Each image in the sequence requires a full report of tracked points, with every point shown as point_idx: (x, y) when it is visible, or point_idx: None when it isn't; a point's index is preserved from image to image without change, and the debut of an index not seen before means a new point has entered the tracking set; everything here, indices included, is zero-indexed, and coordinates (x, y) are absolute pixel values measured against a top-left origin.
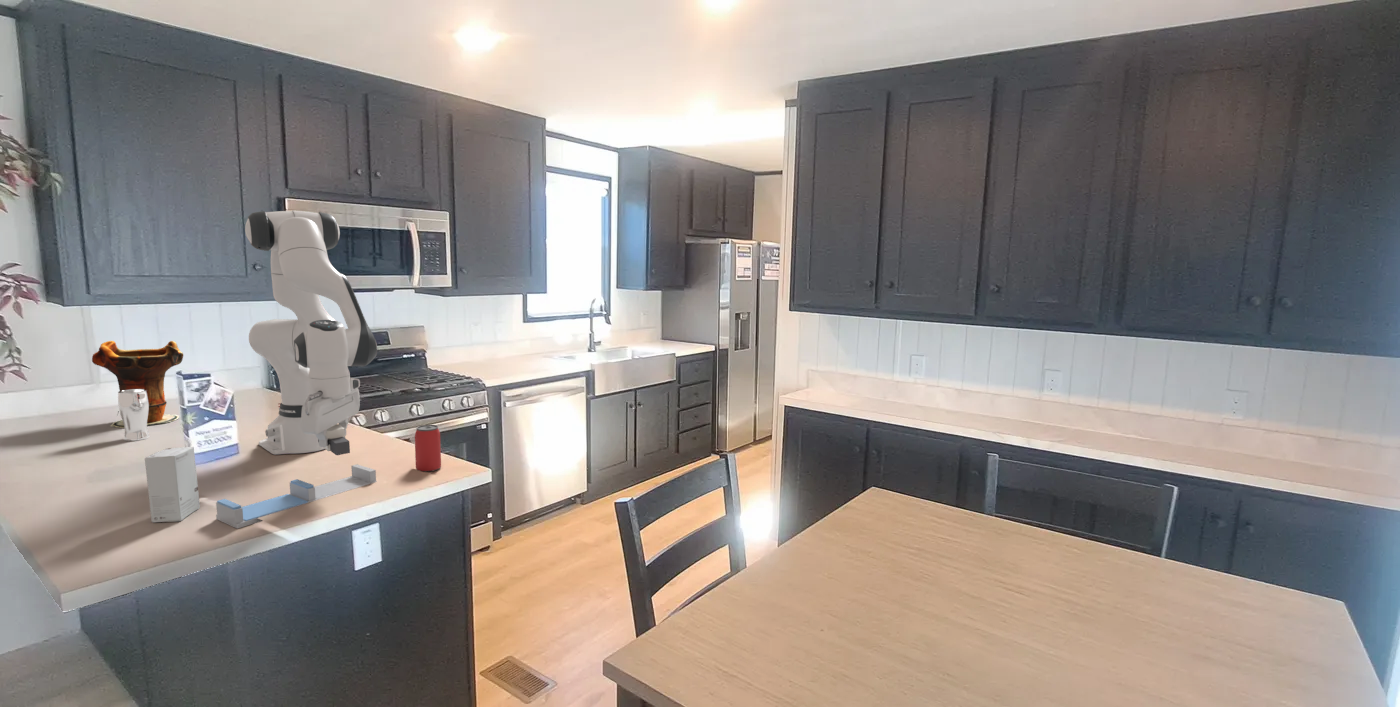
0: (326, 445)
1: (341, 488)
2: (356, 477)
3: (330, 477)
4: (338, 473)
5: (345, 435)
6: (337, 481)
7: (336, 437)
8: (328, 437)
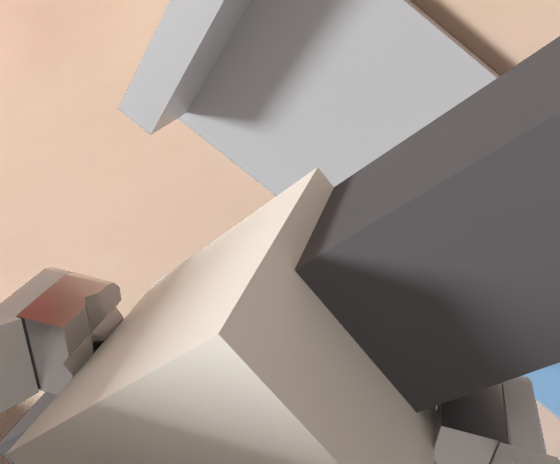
0: (530, 385)
1: (400, 99)
2: (206, 76)
3: (166, 229)
4: (109, 210)
5: (63, 270)
6: (269, 167)
7: (356, 346)
8: (424, 445)
